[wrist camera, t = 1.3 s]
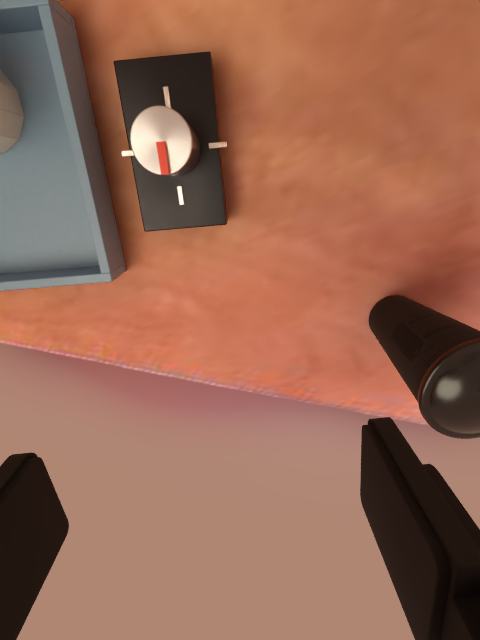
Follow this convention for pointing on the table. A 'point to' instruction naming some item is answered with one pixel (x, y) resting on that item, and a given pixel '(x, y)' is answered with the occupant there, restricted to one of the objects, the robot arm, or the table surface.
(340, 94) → the table surface
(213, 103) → the black dial panel
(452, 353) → the drinking cup
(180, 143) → the control knob
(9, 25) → the tray
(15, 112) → the cup
